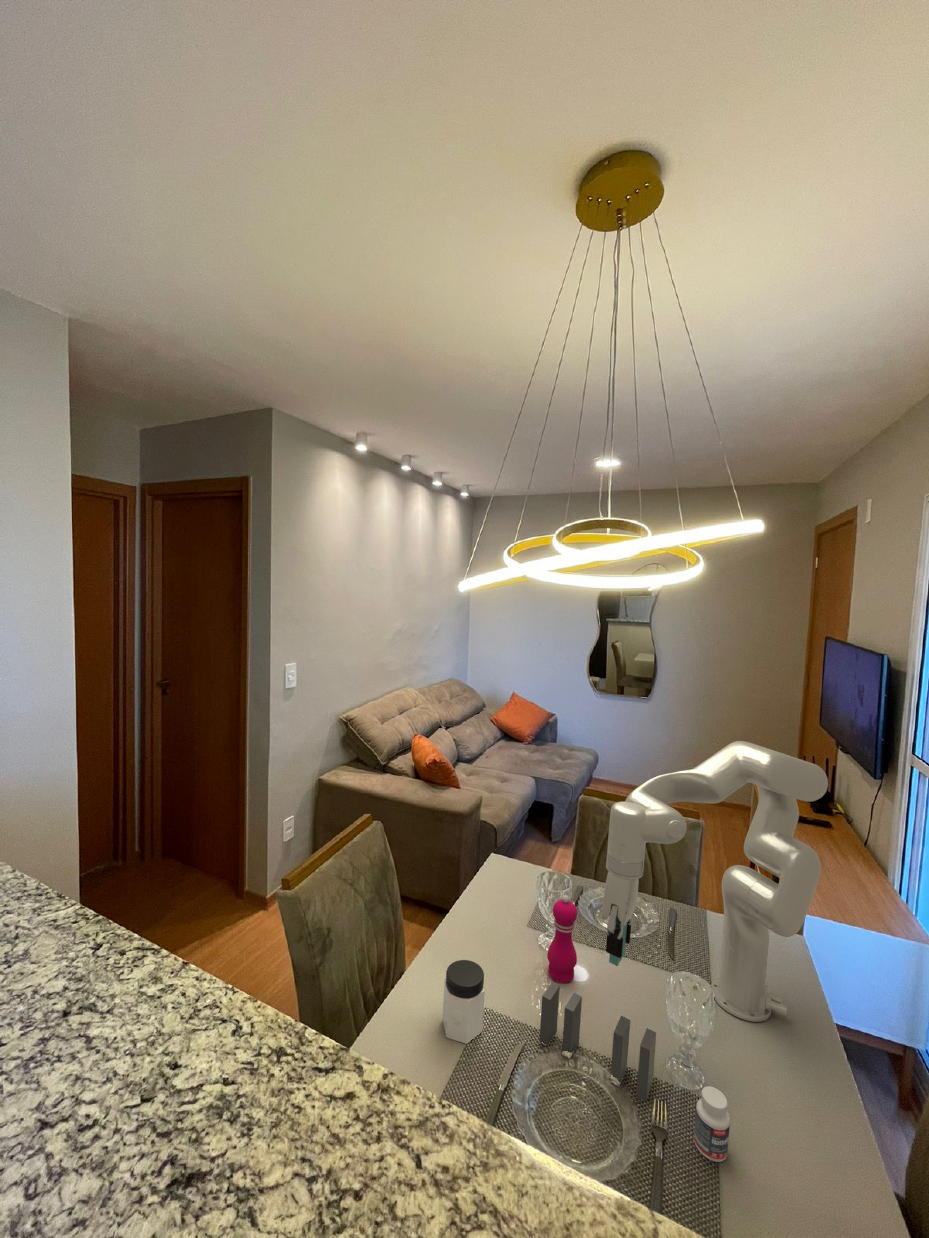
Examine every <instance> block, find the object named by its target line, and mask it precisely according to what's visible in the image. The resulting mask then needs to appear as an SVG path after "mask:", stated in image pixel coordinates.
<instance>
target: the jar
mask: <svg viewBox="0 0 929 1238" xmlns="http://www.w3.org/2000/svg"><path fill="white" fill-rule="evenodd" d="M445 972H446V973H445V979H444V987H443V989H444V990H443V1002H442V1003H443V1004H442V1006H443V1008H442V1024H443V1029H444V1034H445V1037H446V1039H448V1040H449V1039H450V1040H453V1041H455V1042H459V1043H462V1044H466V1045H467V1044H469V1043H470V1042H472V1041H473V1040H474V1039H475V1037H476V1036H477V1035H478V1036H479V1034H480V1033H481V1032H482V1033H483V1024H484V1012H485V1011H484V1010H485V1009H484V1008H485V1007H484V1006H485V995H486V994H485V993H486V989H485V987H484V981H485V979H484V978H485V973H484V969H483V967H481V966H480V965H479V964H478V963H476V962H475V961H473V960H468V959H461V960H455V961H454V962H452V963H451V964H450V965H448V966H447V968H446V970H445ZM482 1033H481V1034H482ZM481 1034H480V1035H481ZM478 1036H477V1037H478ZM477 1037H476V1038H477ZM472 1039H473V1040H472ZM471 1040H472V1041H471Z"/></svg>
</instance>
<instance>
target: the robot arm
mask: <svg viewBox="0 0 929 1238" xmlns="http://www.w3.org/2000/svg"><path fill="white" fill-rule="evenodd" d="M748 783H751V784H752V785H755V786H756V788H757V792H758V803H757V805H756V806H757V807H756V809H755V813H754V815H753V818H752V821H751V823H750V826H749V829H748V831H747V834H746V837H745V840H744V843H743V852H744V855H745V856H746V858H747V859H749V860H750V862H752V863H753V864H755V865H757V866H758V867H760V868H762V869H763V870H765V871H767V872H768V873H770V874H771V875H774V876H775V877H777V878H779V880H778V881H779V882H778V883H777V882H775V881H773V880H772V879H771V878H769V877H767V876H766V875H765V874H763V873H761V872H759V871H758V870H755V869H753V868H751V867H749V866H745V865H742V864H741V865H740V864H735V865H731V866H730V867H728V868H727V869H725V871H724V873H723V876H722V879H721V894H722V895H721V896H722V901H723V924H722V925H723V927H722V928H723V929H722V938H721V940H722V941H721V953H720V963H719V964H720V967H719V977H718V978H716V979H715V980H713V981H712V983H711V986H712V989H713V990H714V994H715V999H714V1001H715V1002H716V1003H717V1004H718V1005H719V1006H720V1008H722V1009H723V1010H724V1011H726V1012H727V1013H729V1014H731V1015H732V1016H734V1017H736V1018H738V1019H742V1020H744V1021H748V1022H755V1023H756V1022H760V1023H761V1022H764V1021H767V1020H769V1018H770V1017H771V1015H772V1011H774V1012H776V1013H778V1014H780V1015H782V1016H785V1017H788V1016H787V1015H788V1006H787V1005H784V1004H782V998H781V997H779V996H774V995H772V994H770V992H769V991H767V990H768V985H767V984H766V983H767V982H766V981H767V971H768V957H769V946H770V945H769V944H770V932H769V931H771V932H773V933H774V934H776V935H777V936H780V937H782V938H783V937H784V938H789V937H793V936H795V935H796V934H797V933H798V932H799V931H800V930H801V928H802V927H803V924H804V922H805V920H806V918H807V914H808V912H809V909H810V908H811V907H810V906H811V903H812V900H813V897H814V895H815V892H816V890H817V887H818V884H819V880H820V878H821V874H822V864H821V859H820V857H819V854H818V853H817V851H816V850H815V849H814V848H812V847H811V846H810V845H808V844H806V843H805V842H803V841H801V840H799V839H797V838H794V835H795V831H796V828H797V825H798V822H799V818H800V810H799V806H798V802H797V800H800V801H802V802H803V801H804V802H815V801H817V800H819V799H821V798H823V796H824V795H826V793H827V790H828V788H829V787H828V785H829V779H828V776H827V773H826V772H825V770H823V768H822V767H821V766H819V765H817V764H815V763H812V762H809V761H806V760H803V759H801V758H797V757H794V756H792V755H789V754H786V753H783V752H779V751H776V750H773V749H770V748H767V747H764V746H762V745H761V746H760V745H759V744H756V743H752V742H749V741H744V740H736V741H733V742H731V743H729V744H727V745H726V746H724V747H723V748H722V749H720V750H719V751H717V752H716V753H714V754H713V755H712V756H710V757H708V758H707V759H705V760H704V761H703V762H701V763H700V764H698V765H696V766H695V767H693V768H691V769H684V770H679V771H674V772H670V773H664V774H660V775H657V776H655V777H652V778H650V779H648V780H647V781H645V782H644V783H642V784H640V785H639V786H638V787H636V788H635V789H634V790H632V791H631V792H630V793H629V795H627V797H626V799H625V801H616V802H615V803H613V804H612V806H611V807H610V813H609V825H608V840H607V852H606V861H605V863H606V864H605V868H606V870H607V871H608V872H607V876H606V880H605V886H604V893H603V899H602V900H603V901H602V907H601V908H602V909H601V918H602V920H607V919H608V922H607V925H606V931H607V933H606V943H605V944H606V945H605V946H606V947H605V952H606V953H607V954H609V955H610V954H612V955H614V956H616V957H618V958H621V957H622V948H623V938H622V932H623V926H625V925H626V923H627V931H626V944H627V945H629V944H630V943H631V936H632V935H631V934H632V933H631V932H632V931H631V930H632V925H631V924H632V922H633V921H632V920H633V918H632V917H633V916H632V915H633V914H634V913H635V910H636V908H637V903H638V895H639V879H641V878H642V877H643V876H644V868H645V854H646V844H647V843H655V844H661V845H663V844H664V845H670V844H675V843H677V842H679V841H681V840H682V839H683V838H684V837H685V836H686V833H687V829H688V827H687V825H688V824H687V822H686V819H685V818H684V816H683V815H682V813H681V812H679V811H678V810H676V809H675V808H673V807H672V806H671V805H670V804H672V803H673V804H674V803H678V802H679V803H680V802H682V803H683V802H686V803H687V802H688V803H689V802H690V803H696V804H719V803H721V802H723V801H724V800H725V799H727V798H728V797H730V796H731V795H732V794H733V793H735V792H736V791H737V790H739V789H741V788H742V787H744V786H745V785H746V784H748ZM668 804H669V805H668ZM617 919H619V921H621V922H619V921H617ZM615 925H617V926H619V932H618V930H617V929H616V928H615Z"/></svg>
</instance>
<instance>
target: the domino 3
mask: <svg viewBox="0 0 929 1238" xmlns="http://www.w3.org/2000/svg"><path fill="white" fill-rule="evenodd" d="M617 921H619V919H617ZM619 922H621V921H619ZM615 928H616V929H617V930H618V932H619V926H617V925H615ZM626 931H627V923H626V925H625V926H623V932H622V938H623V948H622V957H621V958H618V957H616V956H614V955H612V954H609V959H608V963H610V964H612V965H614V966H616V967H618V966H619V965H620V962H621V961H622V960H623V957H624V955H625V954H626V953H625V952H626V944H627V943H626Z"/></svg>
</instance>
